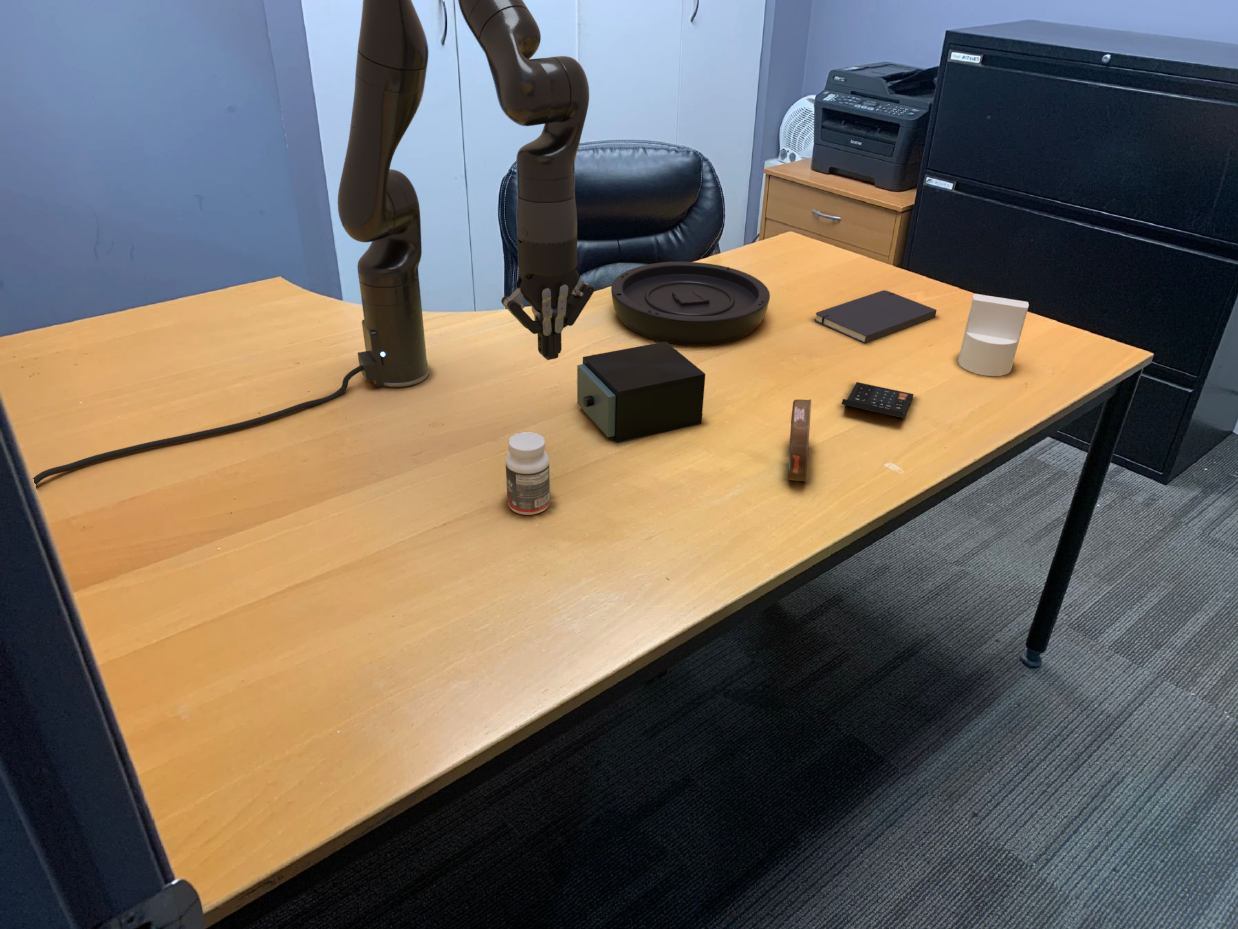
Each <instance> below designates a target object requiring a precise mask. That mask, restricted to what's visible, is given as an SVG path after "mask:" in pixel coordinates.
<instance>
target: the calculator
mask: <svg viewBox="0 0 1238 929" xmlns="http://www.w3.org/2000/svg"><path fill="white" fill-rule="evenodd" d="M913 399H914V393H910V392H905V391H900V390H897V389H892V388H888V387H882V386H877V385H872V384H869V383H863V382H860V381H859V382H858V381H856V382H855V384H854V386H853V387H852V389H851V391H850V393H849V395H848V397H847V399H846V398H842V401H841V405H843V406H847V407H852V408H855V409H859V410H860V409H861V410H865V411H869V412H874V413H879V414H882V415H887V416H893V417H896V418H900V419H905V418H906V416H907V414H908V411H909V408H910V406H911V404H912V401H913Z"/></svg>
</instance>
